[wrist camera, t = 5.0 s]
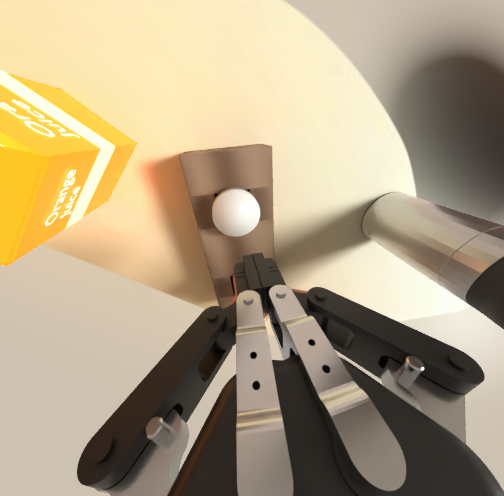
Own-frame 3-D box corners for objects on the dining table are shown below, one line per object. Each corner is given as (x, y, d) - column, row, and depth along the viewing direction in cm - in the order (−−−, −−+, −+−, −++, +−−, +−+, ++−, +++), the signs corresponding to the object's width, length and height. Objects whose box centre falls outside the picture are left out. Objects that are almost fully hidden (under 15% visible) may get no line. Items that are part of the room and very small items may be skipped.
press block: (261, 143, 24) (271, 146, 20) (267, 285, 38) (274, 303, 34) (184, 151, 23) (179, 156, 19) (220, 294, 37) (221, 314, 33)
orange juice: (138, 144, 22) (-92, 177, 5) (108, 201, 25) (-106, 344, 8) (57, 86, 18) (-1470, -380, 2) (33, 161, 21) (-648, 268, 4)
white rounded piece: (248, 176, 25) (258, 187, 20) (252, 213, 28) (261, 232, 23) (208, 181, 25) (207, 194, 19) (216, 219, 28) (217, 239, 22)
